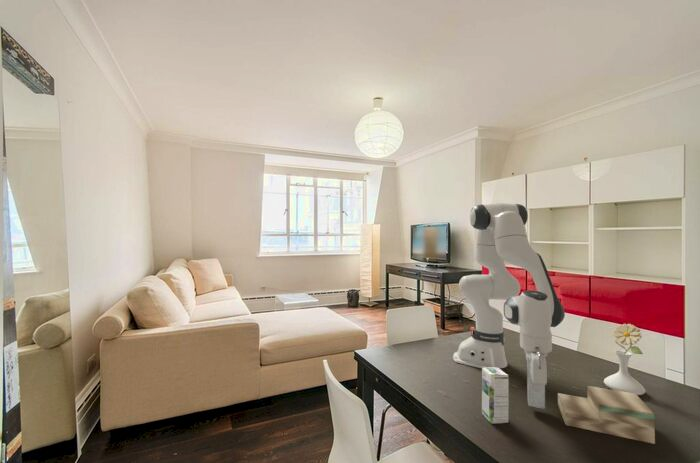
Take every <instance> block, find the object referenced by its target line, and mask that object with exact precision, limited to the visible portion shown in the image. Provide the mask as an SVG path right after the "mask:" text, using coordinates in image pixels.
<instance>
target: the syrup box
mask: <svg viewBox="0 0 700 463" xmlns="http://www.w3.org/2000/svg"><path fill="white" fill-rule="evenodd" d="M481 414H482V415H483V416H484V418H485V419H486V420H487V421H488V423H490V424H493V425H494V424H506V423H507V424H508V423H509V374H507V373H506V372H505V371H503V370H502V369H501V368H500V369H499V368H496V367H486V368H481Z"/></svg>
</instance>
